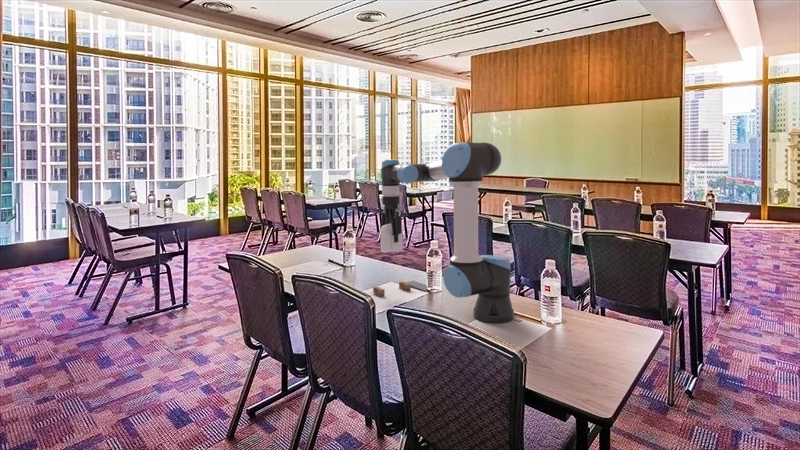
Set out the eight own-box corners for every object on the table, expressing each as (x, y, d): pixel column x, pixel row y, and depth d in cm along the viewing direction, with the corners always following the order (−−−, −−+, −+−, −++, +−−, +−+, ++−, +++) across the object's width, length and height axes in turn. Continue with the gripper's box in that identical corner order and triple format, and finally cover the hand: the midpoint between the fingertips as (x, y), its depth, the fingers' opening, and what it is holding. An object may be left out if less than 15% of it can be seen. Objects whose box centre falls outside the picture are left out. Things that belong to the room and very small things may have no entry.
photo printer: (398, 249, 223) (398, 221, 221) (404, 250, 220) (403, 223, 218) (379, 252, 218) (378, 224, 216) (384, 253, 214) (383, 225, 212)
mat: (434, 289, 225) (434, 288, 225) (424, 291, 222) (424, 290, 222) (413, 281, 238) (413, 280, 238) (403, 283, 235) (403, 282, 235)
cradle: (410, 290, 224) (410, 284, 223) (380, 296, 214) (380, 290, 214) (402, 287, 228) (402, 281, 228) (373, 293, 219) (373, 287, 219)
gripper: (409, 196, 210) (410, 250, 213) (386, 193, 224) (387, 244, 228) (395, 197, 206) (396, 252, 209) (372, 194, 220) (373, 246, 223)
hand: (391, 248), depth 218 cm, fingers closed on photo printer, 4 cm apart
